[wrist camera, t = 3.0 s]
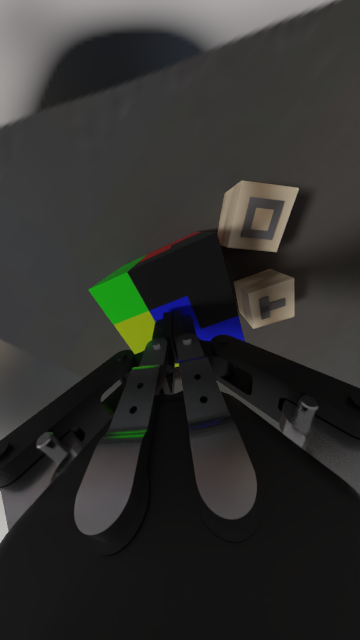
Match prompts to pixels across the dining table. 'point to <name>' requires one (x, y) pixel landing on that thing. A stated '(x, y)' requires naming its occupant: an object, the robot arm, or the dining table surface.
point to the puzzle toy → (171, 291)
